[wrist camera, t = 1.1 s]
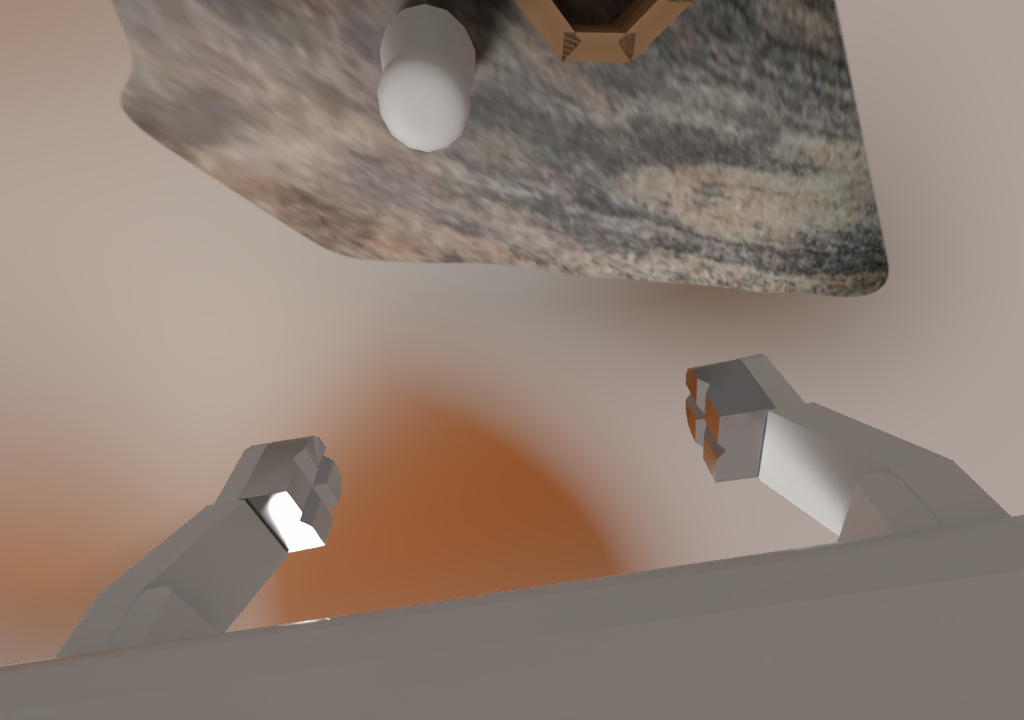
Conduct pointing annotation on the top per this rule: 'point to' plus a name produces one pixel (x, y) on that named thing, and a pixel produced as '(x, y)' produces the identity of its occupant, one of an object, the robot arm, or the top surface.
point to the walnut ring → (602, 30)
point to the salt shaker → (426, 77)
